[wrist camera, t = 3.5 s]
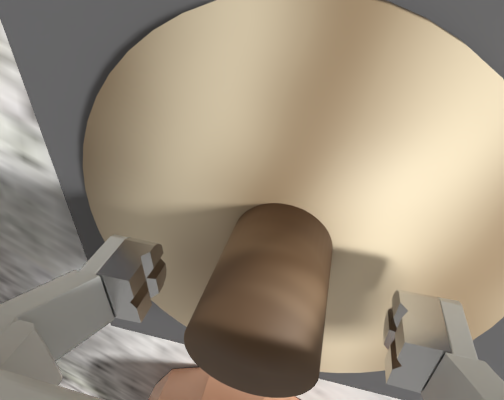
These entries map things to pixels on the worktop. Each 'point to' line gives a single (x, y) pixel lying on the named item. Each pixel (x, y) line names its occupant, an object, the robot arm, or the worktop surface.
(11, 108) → the worktop surface
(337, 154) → the lid
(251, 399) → the bowl
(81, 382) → the worktop surface
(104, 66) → the mat
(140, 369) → the worktop surface
